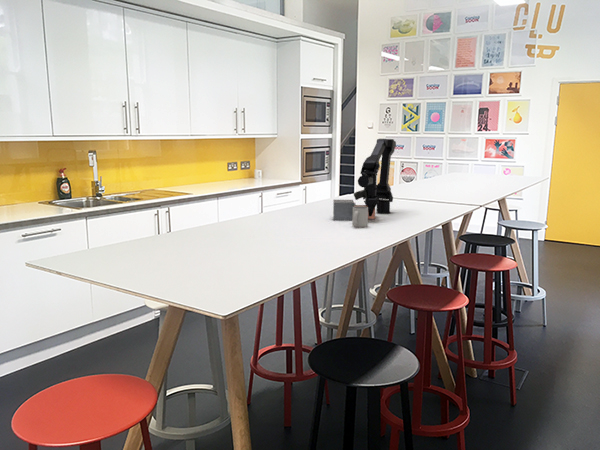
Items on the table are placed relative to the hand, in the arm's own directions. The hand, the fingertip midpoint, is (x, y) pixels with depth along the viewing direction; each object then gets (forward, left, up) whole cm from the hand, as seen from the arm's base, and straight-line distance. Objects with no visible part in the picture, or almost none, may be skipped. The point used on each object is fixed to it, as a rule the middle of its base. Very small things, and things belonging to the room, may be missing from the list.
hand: (369, 215), depth 257 cm
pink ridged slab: (+6, 0, -1) cm, 6 cm away
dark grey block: (+13, 0, -2) cm, 14 cm away
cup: (+7, +20, -2) cm, 21 cm away
